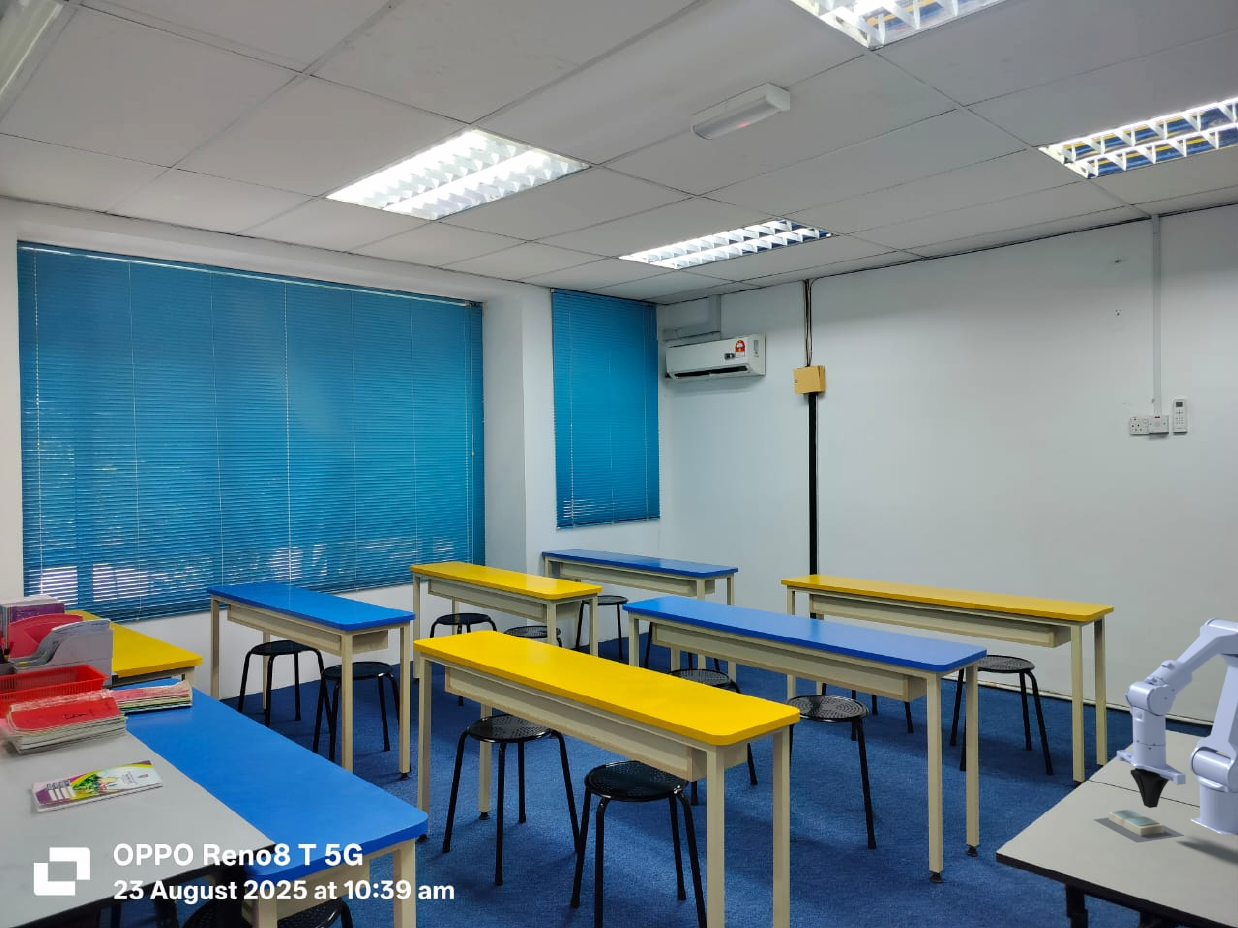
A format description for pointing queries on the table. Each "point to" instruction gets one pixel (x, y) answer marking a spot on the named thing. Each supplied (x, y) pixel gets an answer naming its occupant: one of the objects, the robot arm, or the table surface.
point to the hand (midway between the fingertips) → (1150, 806)
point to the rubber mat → (1135, 837)
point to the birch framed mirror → (1136, 822)
